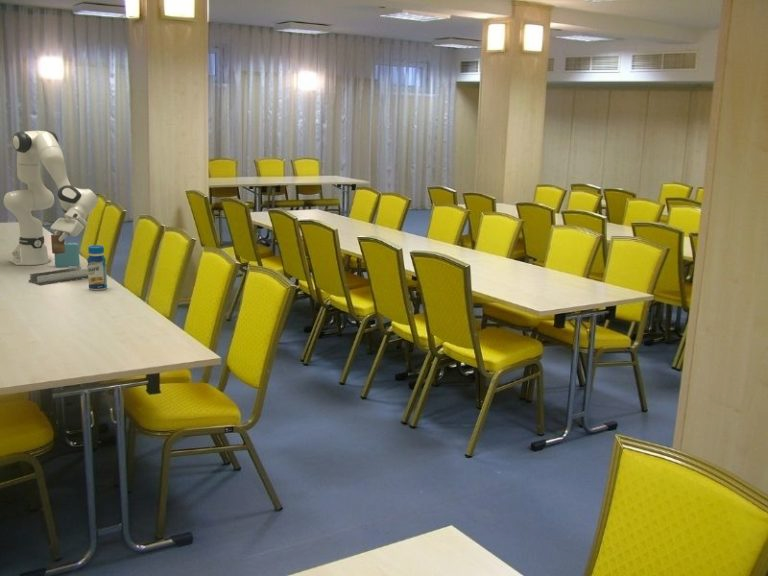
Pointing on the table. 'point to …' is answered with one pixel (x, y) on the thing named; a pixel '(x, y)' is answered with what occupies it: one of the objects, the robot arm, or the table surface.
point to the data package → (68, 256)
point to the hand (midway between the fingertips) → (56, 240)
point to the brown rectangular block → (57, 244)
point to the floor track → (58, 276)
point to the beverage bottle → (97, 268)
